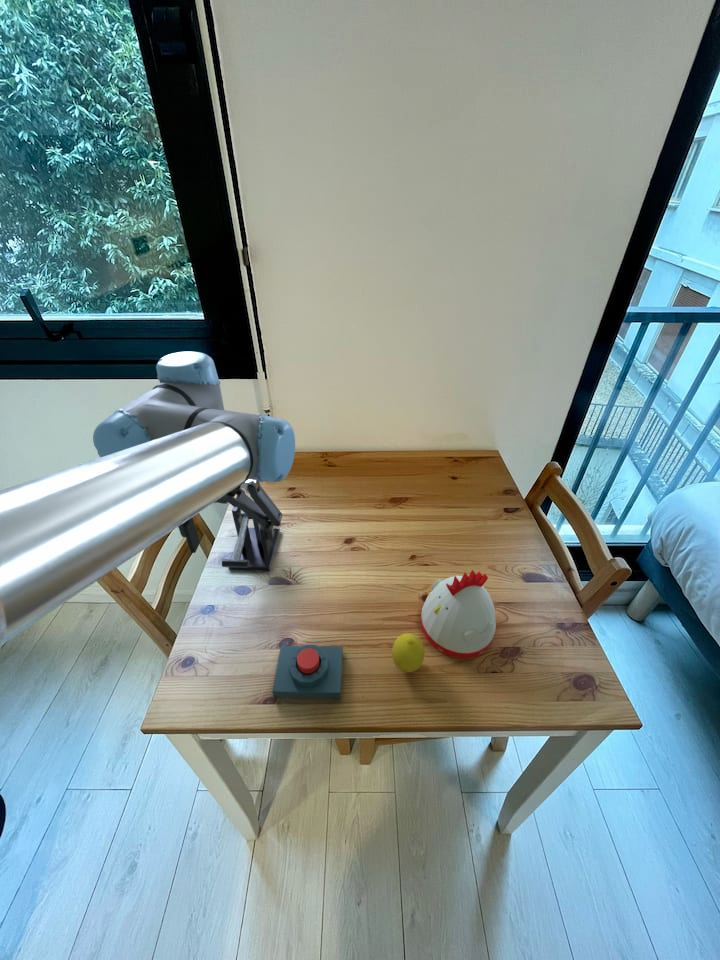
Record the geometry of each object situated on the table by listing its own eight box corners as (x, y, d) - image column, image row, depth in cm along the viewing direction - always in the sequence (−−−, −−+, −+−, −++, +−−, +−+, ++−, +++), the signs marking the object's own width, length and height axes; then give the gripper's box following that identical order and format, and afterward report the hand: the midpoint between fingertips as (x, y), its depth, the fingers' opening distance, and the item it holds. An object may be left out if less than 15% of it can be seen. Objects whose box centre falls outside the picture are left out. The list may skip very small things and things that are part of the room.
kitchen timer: (408, 606, 82) (415, 555, 73) (467, 586, 86) (480, 535, 77) (443, 669, 72) (457, 618, 63) (508, 643, 76) (529, 592, 67)
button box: (274, 697, 67) (271, 686, 65) (282, 652, 74) (279, 640, 71) (340, 699, 67) (340, 687, 65) (342, 653, 74) (342, 641, 71)
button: (296, 674, 67) (295, 668, 66) (299, 653, 70) (298, 647, 69) (318, 674, 67) (317, 669, 66) (320, 653, 70) (319, 648, 69)
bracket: (269, 571, 89) (261, 524, 80) (228, 569, 89) (216, 523, 80) (280, 532, 98) (273, 487, 90) (243, 530, 98) (233, 485, 90)
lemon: (428, 669, 72) (434, 644, 67) (404, 686, 69) (407, 662, 64) (408, 644, 75) (412, 619, 70) (384, 660, 73) (386, 635, 68)
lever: (249, 569, 80) (246, 564, 78) (223, 569, 80) (220, 563, 78) (261, 508, 88) (259, 502, 86) (238, 507, 88) (236, 501, 86)
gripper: (291, 443, 67) (300, 536, 79) (140, 439, 67) (173, 532, 80) (283, 470, 61) (294, 566, 73) (117, 465, 61) (157, 561, 74)
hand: (231, 548), depth 77 cm, fingers open, 13 cm apart
